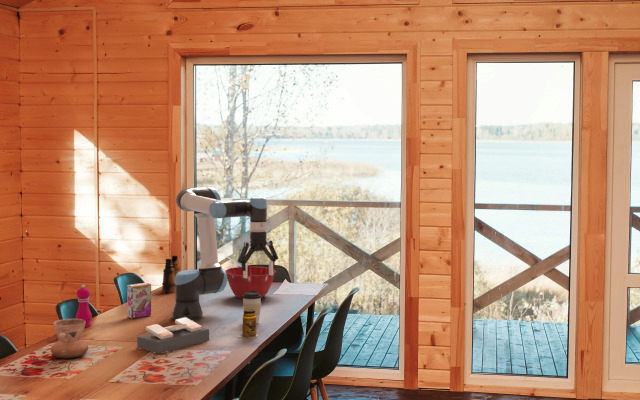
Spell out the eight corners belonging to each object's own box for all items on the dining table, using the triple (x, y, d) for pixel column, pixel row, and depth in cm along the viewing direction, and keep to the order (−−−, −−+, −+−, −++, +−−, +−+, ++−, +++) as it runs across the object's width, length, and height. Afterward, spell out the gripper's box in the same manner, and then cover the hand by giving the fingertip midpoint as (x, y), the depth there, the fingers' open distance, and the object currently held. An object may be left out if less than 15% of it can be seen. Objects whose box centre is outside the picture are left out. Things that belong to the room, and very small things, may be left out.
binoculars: (173, 294, 421) (172, 259, 420) (159, 293, 422) (159, 259, 421) (183, 288, 439) (183, 255, 438) (170, 287, 440) (170, 254, 439)
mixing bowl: (285, 295, 417) (285, 269, 416) (254, 305, 393) (254, 276, 392) (246, 290, 432) (246, 264, 431) (214, 299, 408) (214, 271, 407)
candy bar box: (132, 319, 359) (131, 286, 358) (126, 317, 363) (126, 285, 362) (151, 315, 367) (151, 283, 366) (146, 314, 371) (146, 282, 370)
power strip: (137, 348, 308) (137, 335, 308) (193, 333, 332) (193, 321, 332) (158, 354, 300) (158, 340, 299) (214, 338, 324) (214, 326, 323)
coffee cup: (258, 325, 348) (258, 294, 347) (240, 324, 350) (239, 293, 349) (263, 320, 357) (263, 290, 356) (245, 320, 359) (245, 289, 358)
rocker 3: (174, 324, 322) (175, 319, 321) (185, 321, 327) (186, 316, 326) (190, 333, 315) (191, 328, 315) (201, 331, 320) (202, 326, 319)
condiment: (253, 338, 324) (253, 312, 323) (235, 337, 327) (235, 310, 326) (259, 334, 331) (259, 308, 330) (242, 333, 334) (242, 307, 333)
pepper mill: (95, 325, 347) (94, 284, 345) (84, 328, 340) (83, 286, 339) (83, 323, 350) (82, 282, 348) (72, 327, 343) (71, 285, 342)
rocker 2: (160, 333, 315) (159, 328, 316) (171, 330, 320) (171, 325, 320) (176, 331, 308) (175, 326, 309) (188, 329, 313) (187, 323, 314)
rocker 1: (144, 331, 309) (145, 326, 309) (156, 328, 314) (157, 323, 314) (161, 341, 303) (161, 336, 302) (173, 338, 308) (173, 333, 307)
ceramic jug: (79, 362, 288) (79, 326, 287) (43, 361, 289) (43, 325, 288) (95, 350, 306) (95, 317, 305) (61, 349, 307) (61, 316, 306)
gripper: (238, 233, 325) (238, 280, 327) (285, 230, 339) (285, 275, 341) (230, 231, 331) (230, 277, 333) (277, 228, 345) (277, 272, 347)
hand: (258, 276), depth 337 cm, fingers open, 13 cm apart
